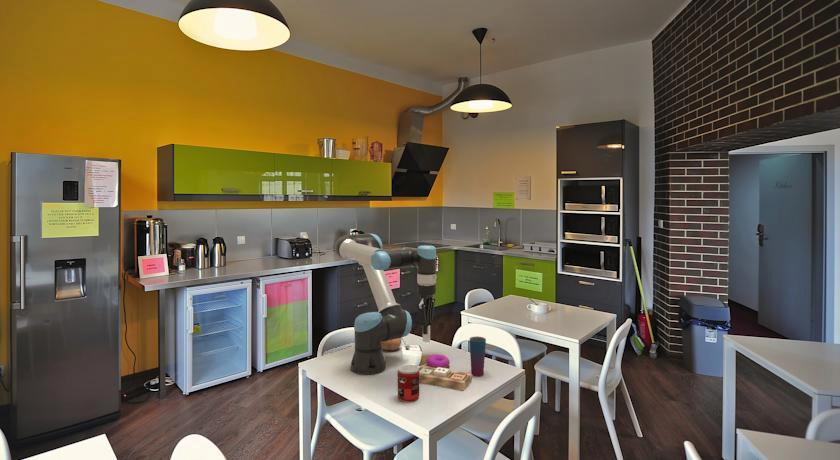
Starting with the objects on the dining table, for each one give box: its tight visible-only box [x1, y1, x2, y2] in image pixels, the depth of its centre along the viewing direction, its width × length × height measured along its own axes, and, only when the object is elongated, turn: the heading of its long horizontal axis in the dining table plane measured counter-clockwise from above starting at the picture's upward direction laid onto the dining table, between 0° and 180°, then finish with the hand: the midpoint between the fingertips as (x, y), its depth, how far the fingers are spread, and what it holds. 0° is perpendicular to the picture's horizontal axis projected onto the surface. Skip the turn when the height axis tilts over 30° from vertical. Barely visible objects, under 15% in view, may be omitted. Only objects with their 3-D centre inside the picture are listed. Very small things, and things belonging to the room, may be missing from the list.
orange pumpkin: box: [382, 337, 402, 351], centre depth 218 cm, size 11×11×8 cm
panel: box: [418, 365, 473, 391], centre depth 180 cm, size 22×10×3 cm, turn 66°
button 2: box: [434, 367, 450, 378], centre depth 180 cm, size 5×5×2 cm
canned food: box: [397, 364, 420, 403], centre depth 165 cm, size 8×8×11 cm
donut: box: [426, 353, 451, 368], centre depth 196 cm, size 10×10×4 cm
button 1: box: [419, 368, 434, 375], centre depth 183 cm, size 5×5×2 cm
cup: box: [469, 335, 487, 377], centre depth 187 cm, size 7×7×15 cm
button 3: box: [450, 373, 466, 381], centre depth 177 cm, size 5×5×2 cm
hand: (426, 341), depth 182 cm, fingers closed
